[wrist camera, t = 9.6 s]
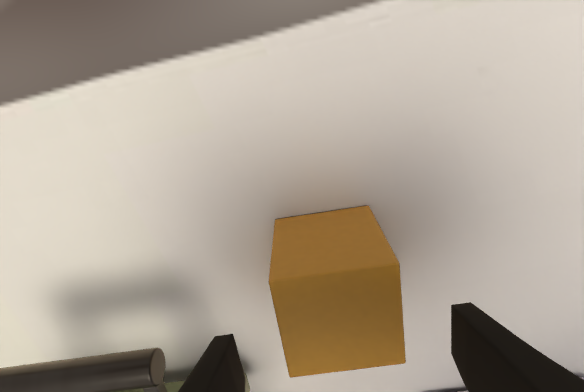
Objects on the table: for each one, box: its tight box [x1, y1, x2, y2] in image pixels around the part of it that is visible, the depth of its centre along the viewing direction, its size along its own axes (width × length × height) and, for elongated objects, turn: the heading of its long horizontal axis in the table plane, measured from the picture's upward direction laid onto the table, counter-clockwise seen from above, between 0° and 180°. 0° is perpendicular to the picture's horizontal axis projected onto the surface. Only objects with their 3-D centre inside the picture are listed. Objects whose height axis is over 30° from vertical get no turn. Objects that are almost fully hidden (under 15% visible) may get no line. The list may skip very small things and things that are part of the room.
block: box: [269, 206, 406, 377], centre depth 15 cm, size 4×4×5 cm
